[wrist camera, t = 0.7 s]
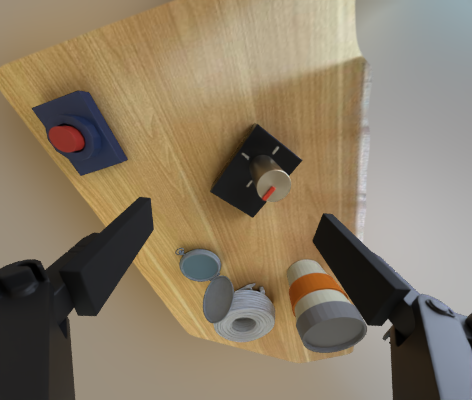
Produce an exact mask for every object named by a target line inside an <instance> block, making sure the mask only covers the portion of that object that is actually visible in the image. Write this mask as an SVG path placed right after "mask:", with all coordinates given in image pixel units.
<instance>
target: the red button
mask: <svg viewBox="0 0 472 400" xmlns="http://www.w3.org/2000/svg"><path fill="white" fill-rule="evenodd" d="M49 139H50V141H51V143H52V144H53V145H54V146H55V147H56V148H57V149H59V150H61V151H63V152H74V151H78V150H81V149H82V148H83V147H84V146H85V139H84V137H83V135H82V134H81V132H80V131H79V130H77V129H76V128H74V127H72V126H55V127H53V128H51V129H50V131H49Z"/></svg>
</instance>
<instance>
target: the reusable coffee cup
mask: <svg viewBox="0 0 472 400" xmlns="http://www.w3.org/2000/svg"><path fill="white" fill-rule="evenodd" d="M287 277H288V282H289V287H290V289H289V295H290V300H291V305H292V310H293V314H294V316H295V317H296V320H297V322H296V327H297V330H298V333H299V335H300V337H301V340H302V342H303V344H304V346H305V347H306V348H307V349H309V350H311V351H314V352H319V353H330V352H337V351H341V350H344V349H347V348H350V347H352V346H353V345H355V344H357V343H358V342H359V341H361V340H362V339H363V338H364V336H365V335H366V332H367V326H366V324H365V322H364V320H363V318H362V317H361V315H360V313H359V311H358V310H357V308H356V307H355V306H354V305H352V304H351V303H350V302H349V301H348V297H347V295H346V294H345V293H344V291H343V290H342V289H341V288H340V287H339V285H338V284H337V283H336V282H335V281H334V279H333V278H332V277H331V276H329V275H327V273H326V272H325V271H324V270H323V269H322V267H321V266H320V265H319V264H318V263H317V262H316V261H314V260H309V259H306V260H300V261H298V262H296V263H294V264H293V265H291V266H290V267H289V269H288V271H287Z"/></svg>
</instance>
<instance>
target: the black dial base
mask: <svg viewBox="0 0 472 400" xmlns="http://www.w3.org/2000/svg"><path fill="white" fill-rule="evenodd" d="M259 155H267V156H269V157H270V158H272V159H273V160H274V161H275V163H276V164H277V165H278V166H279V167H280V168H281V169H282V170H283V171H284V172H285V173H286V174H287V175H288V176H289V175H290V174H291V173H292V172H293V171H294V170H295V168H296V167H297V166H298V165H299V164H300V163H301V161H302V160H301V159H300V158H299V157H298V156H296V155H295V154H294V153H293V152H291V151H290V150H289V149H288V148H286V147H285V146H284V145H283V144H282V143H280V142H279V141H278V140H277V139H275V138H274V137H273V136H272V135H270V134H269V133H268V132H267V131H265V130H264V129H263V128H262V127H260V126H259V125H258V124H254V125H253V126H252V128H251V129H250V131H249V132H248V134H247V135H246V137H245V138H244V139H243V141H242V142H241V144H240V145H239V147H238V148H237V150H236V151H235V153H234V154H233V155H232V157H231V158H230V160H229V161H228V163H227V164H226V166H225V167H224V169H223V170H222V171H221V173H220V174H219V176H218V177H217V179H216V180H215V182H214V183H213V184H212V186H211V190H210V192H211V193H213V194H215V195H216V196H218V197H220V198H221V199H223V200H225V201H226V202H228V203H229V204H231V205H233V206H234V207H236V208H238V209H239V210H241V211H243V212H244V213H246V214H248V215H249V216H251V217H254V216H255V215H256V214H257V212H258V211H259V210H260V209H261V208H262V207H263V205H264V204H265V203H266V202H267V201H264V200H263V199H262V198H261V197H260V196H259V194H258V192H257V190H256V187H255V184H254V181H253V179H252V176H251V173H250V170H249V167H250V163H251V161H252V160H253V159H254V158H255V157H257V156H259Z"/></svg>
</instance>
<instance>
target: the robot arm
mask: <svg viewBox="0 0 472 400" xmlns="http://www.w3.org/2000/svg"><path fill="white" fill-rule="evenodd" d="M153 230H154V227H153V217H152V208H151V198H145V197H139V198H138V199H137V200H136V201H135V202H134V203H132V204H131V205H130V206H129V207H128V208H127V209H126V210H125V211H124V212H123V213H121V214H120V215H119V216H118V217H117V218H116V219H115V220H114V221H113V222H112V223H110V224H109V225H108V226H107V227H106V228H105V229H104V230H103V231H102V232H100V233H92V234H90V235H89V236H86V237H85V238H83V239H82V240H80V241H79V242H78V243H77V244H76V245H75V246H74V247H72V248H71V249H70V250H69V251H68V252H66V253H65V254H64V255H63V256H61V257H60V258H59V259H58V260H57V261H55V262H54V263H53V264H52V265H51V266H49V267H48V268H47V269H46V270H44V268H43V265H42V263H41V261H38V260H35V259H34V260H23V261H18V262H15V263H12V264H9V265H7V266H5V267H3V268H1V269H0V400H75V391H74V377H73V365H72V351H71V338H70V324H69V319H68V317H67V316H68V314H69V313H70V312H71V311H72V309H73V308H75V310H76V312H77V314H78V315H79V316H97V314H98V313H99V311H100V310H101V308H102V307H103V305H104V304H105V302H106V301H107V299H108V298H109V296H110V294H111V293H112V292H113V290H114V289H115V287H116V286H117V284H118V282H119V281H120V279H121V278H122V276H123V275H124V273H125V272H126V270H127V269H128V267H129V266H130V264H131V263H132V261H133V260H134V258H135V257H136V255H137V254H138V252H139V251H140V249H141V248H142V246H143V245H144V243H145V242H146V240H147V239H148V237H149V236H150V234H151V233H152V231H153ZM313 243H314V244H315V246H316V248H317V249H318V251H319V252H320V254H321V255H322V257H323V258H324V260H325V261H326V263H327V264H328V266H329V267H330V269H331V270H332V272H333V273H334V275H335V276H336V278H337V279H338V281H339V282H340V284H341V285H342V287H343V288H344V290H345V291H346V293H347V294H348V296H349V297H350V299H351V300H352V302H353V303H354V305H355V306H356V308H357V310H358V311H359V313H360V314H361V316H362V317H363V319H364V320H365V322H366V323H367V325H372V326H373V325H374V326H382V325H383V324H384V323H385V321H386V320H387V319H389V320H390V322H391V323H392V324H393V325H392V327H391V328H390V329H389V330H388V331H387V332H386V334H385V335H384V336H383V340H386V339H387V338H388V337H390V342H389V343H390V344H391V364H392V365H391V366H392V389H393V400H472V314H470V315H469V316H468V317H467V316H464V315H461V314H457V313H455V312H453V311H452V310H451V309H450V308H449V307H448V306H447V305H445V304H444V303H443V302H441V301H439V300H438V299H436V298H434V297H431V296H429V295H424V294H419V293H418V292H417V291H416V290H415V289H414V288H413V287H412V286H411V285H410V284H409V283H408V282H407V281H406V280H404V279H403V278H402V277H401V276H400V275H399V274H398V273H397V272H395V270H394V269H393V268H392V267H390V266H389V265H388V264H387V263H386V262H385V261H384V260H383V259H382V258H381V257H379V256H378V255H376V254H375V253H373V252H371V251H370V250H369V249H368V248H367V247H366V246H365V245H364V244H363V243H362V242H361V241H360V240H359V239H358V238H357V237H356V236H355V235H354V234H352V233H351V232H350V231H349V230H348V229H347V228H346V227H345V226H344V225H343V224H342V223H341V222H340V221H339V220H338V219H337V218H336V217H335V216H334V215H333V214H324V213H323V215H322V217H321V220H320V223H319V225H318V228H317V230H316V233H315V236H314V238H313Z"/></svg>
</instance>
